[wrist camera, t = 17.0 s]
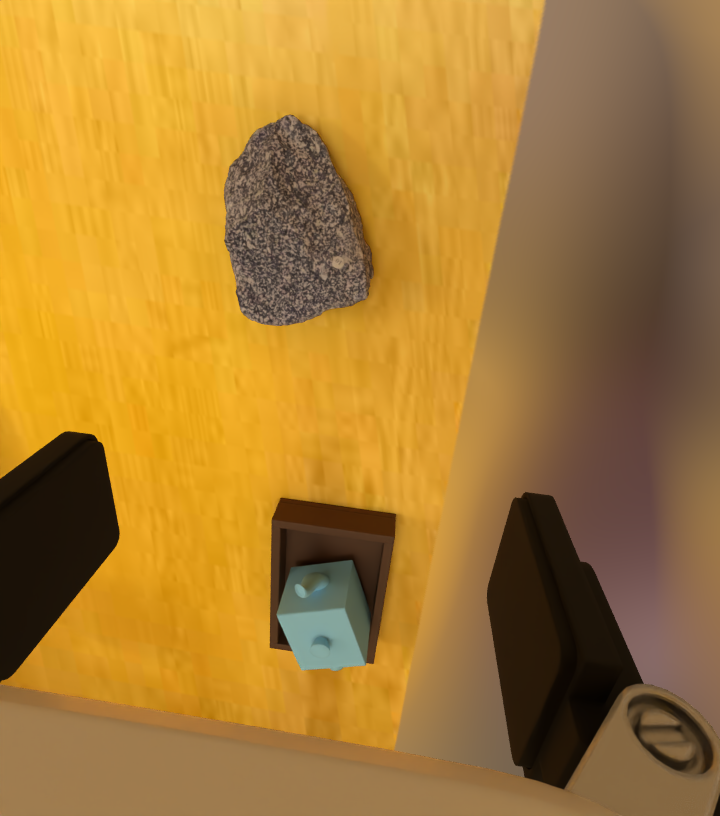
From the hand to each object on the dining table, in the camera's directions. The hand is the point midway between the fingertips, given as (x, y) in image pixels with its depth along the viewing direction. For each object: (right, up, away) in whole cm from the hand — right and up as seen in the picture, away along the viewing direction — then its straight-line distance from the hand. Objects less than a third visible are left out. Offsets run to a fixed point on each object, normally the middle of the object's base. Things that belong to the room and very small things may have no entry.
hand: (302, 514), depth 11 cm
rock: (-3, +15, +22) cm, 27 cm away
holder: (-1, -14, +36) cm, 39 cm away
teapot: (-1, -14, +36) cm, 38 cm away
